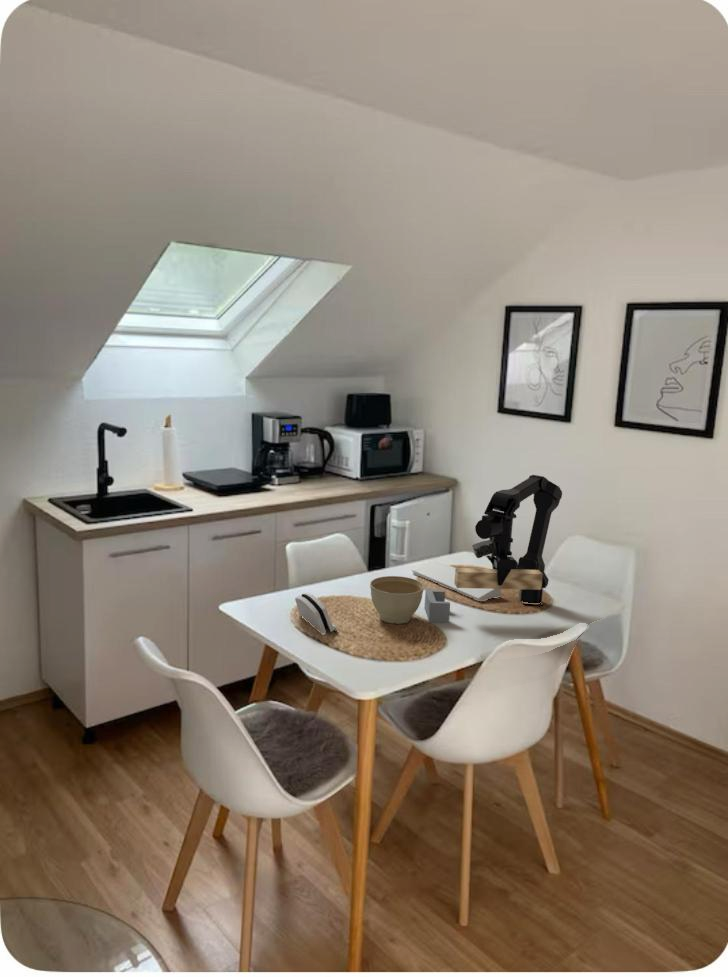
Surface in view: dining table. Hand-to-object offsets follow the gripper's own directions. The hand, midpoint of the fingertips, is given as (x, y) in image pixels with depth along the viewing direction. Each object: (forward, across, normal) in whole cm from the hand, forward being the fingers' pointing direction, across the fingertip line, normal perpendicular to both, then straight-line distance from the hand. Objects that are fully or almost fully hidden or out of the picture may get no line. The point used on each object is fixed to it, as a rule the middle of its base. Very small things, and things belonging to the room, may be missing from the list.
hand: (498, 583), depth 229 cm
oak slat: (+1, 0, 0) cm, 1 cm away
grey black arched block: (+11, +9, -56) cm, 57 cm away
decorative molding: (+12, -30, -7) cm, 33 cm away
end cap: (+11, -1, -18) cm, 21 cm away
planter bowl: (+11, +3, -31) cm, 33 cm away
